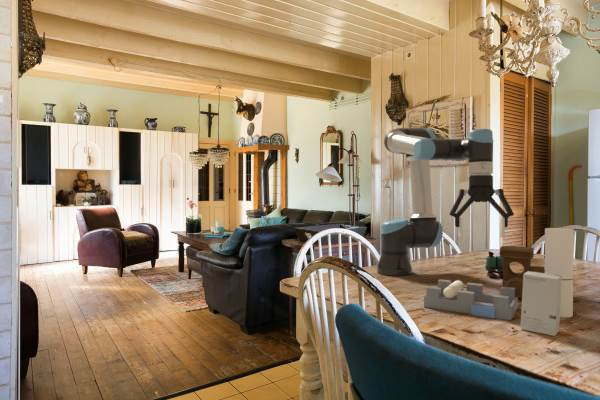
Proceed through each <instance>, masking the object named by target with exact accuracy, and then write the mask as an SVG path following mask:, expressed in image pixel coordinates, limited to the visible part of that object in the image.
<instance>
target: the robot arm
mask: <svg viewBox="0 0 600 400" xmlns="http://www.w3.org/2000/svg"><path fill="white" fill-rule="evenodd" d="M384 136H385V137H384V140H383V144H384V147H385V149H386V150H387V151H389V152H390V153H392V154H396V155H397V154H399V155H405V160H407V161H408V162H409V173H410V194H411V195H410V196H411V208H412V209H411V211H412V214H411V216H410V217H409V220H408V219H407V218H396V219H395V218H394V219H388V220H385V221H383V222H382V223H381V226H380V228H381V229H380V258H379V260H378V264H377V266H376V267H377V268H376V272H377V273H378V274H381V275H385V276H394V277H395V276H398V277H401V276H403V277H404V276H409V275H412V274H413V267H412V264H411V261H410V257H409V249H425V248H426V249H430V248H435V247H437V246H439V245H440V243H441V241H442V239H443V232H444V231H443V226H442V223H441V222H440V221H438V220H437V216H436V215H435V214H433V213H434V212H433V200H432V185H431V184H432V183H431V168H430V161H431V160H434V161H436V160H437V161H440V160H442V161H446V160H447V161H449V160H450V161H461V162H462V161H463V162H464V161H466V160H468V174H469V177H468V189H464V188H461V189H459V191H458V195H457V198H456V200H455V202H454V204H453V206H452V207H451V209H450V212H449V216H451V217H454V226H455V228H457V233H458V234H457V236H458V237H459V238H462V237H463V218H462V217H461V216H462V215H463V214H464V213H465V212H466V210H467V209H468V208H469V207H470V206H471V205H472V204H473V203H474V202H475V203H487V202H488V203H489V204H490V205H491V206H492V207H493V208H494V209H495V210H496V211H497V212H498V213H499V214H500V216H501V217H499V237H500V238H505V237H506V234H505V233H506V231H505V228H508V225H509V221H508V219H509V218H510V217H513V216H514V215H515V213H514V212H513V209H512V207H511V206H510V204H509V202H508V200H507V197H506V196H505V194H504V189H503V188H498V189H494V176H493V175H492V174H494V163H493V161H494V139H493V138H494V137H493V136H494V135H493V130H492V129H489V128H475V129H471V130H470V131H469V133H468V137H467V138H437V136H436V134H435V132H434V131H433V130H432V129H431V128H425V127H424V128H423V127H420V128H419V127H417V128H416V127H415V128H413V127H412V128H411V127H404V128H403V127H397V128H393V129H391V130H390V131H388V132H387V133H386V134H385V135H384ZM467 194H468V195H469V198H468V199H467V200H466V202H465V203H464V204H463V205H462V206H461V207H460V205H461V203H462V201H463V199H464V197H465V196H466V195H467ZM494 194H495V195H496V196H498V199H499V200H500V203H501V204H502V206H503V208H504V209H503V208H502V207H501V206H500V205H499V203H498V202H496V200H495V199H494V198H493V196H494ZM459 207H460V209H459V210H458V208H459ZM505 211H506V212H505Z"/></svg>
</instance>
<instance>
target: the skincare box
mask: <svg viewBox="0 0 600 400" xmlns="http://www.w3.org/2000/svg"><path fill="white" fill-rule="evenodd" d="M561 285H562V276H559V275H553V274H547V273H539V272H531V271H527V272H526V273H524V275H523V292H522V298H521V314H520V329H521V330H522V331H527V332H531V333H532V332H533V333H538V334H544V335H548V336H552V337H555V336H557V334H558V332H559V331H560V320H561V319H560V318H561V317H560V303H561Z"/></svg>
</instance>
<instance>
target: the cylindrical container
mask: <svg viewBox="0 0 600 400" xmlns="http://www.w3.org/2000/svg"><path fill="white" fill-rule="evenodd" d="M574 230H575V229H573V228H564V227H545V228H544V256H545V259H544V267H545V273H547V274H553V275H559V276H562V285H561V303H560V318H573V315H574V313H573V312H574V242H575V241H574V240H575V239H574V233H575V231H574Z"/></svg>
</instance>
